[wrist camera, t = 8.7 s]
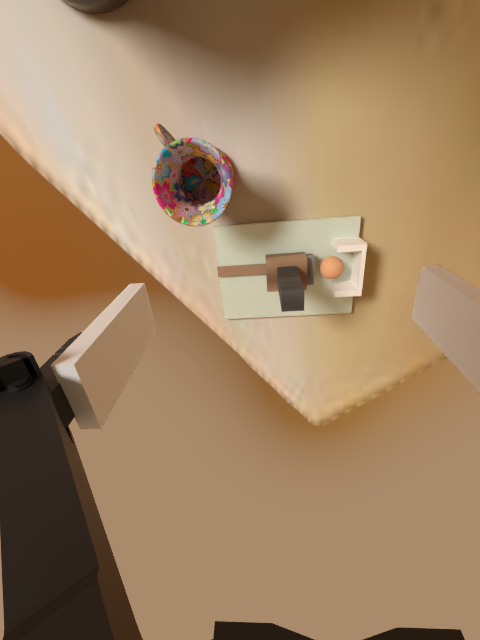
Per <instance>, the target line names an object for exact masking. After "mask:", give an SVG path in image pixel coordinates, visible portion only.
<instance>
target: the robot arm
mask: <svg viewBox="0 0 480 640" xmlns="http://www.w3.org/2000/svg"><path fill="white" fill-rule="evenodd" d="M62 1H63V2H65V3H66V4H68V5H70V6H72V7H74V8H76V9H78V10H81V11H84V12H89V13H104V12H109V11H112V10H114V9H116V8H118V7H120V6H121V5H123V4H124V3H125V2H126V1H128V0H62ZM411 319H412V320H413V321H414V322H415V323H416V324H417V326H418V327H419V328H420V329H421V330H422V331H423V332H424V333H425V334H426V335H427V336H428V337H429V338H430V340H431V341H432V342H433V343H434V344H435V345H436V346H437V347H438V348H439V349H440V350H441V351H442V352H443V354H444V355H445V356H446V357H447V358H448V359H449V360H450V361H451V362H452V363H453V364H454V365H455V366H456V367H457V369H458V370H459V371H460V372H461V373H462V374H463V375H464V376H465V377H466V378H467V379H468V380H469V382H470V383H471V384H472V385H473V386H474V387H475V388H476V389H477V390H478V391H479V392H480V289H478V288H477V287H475V286H474V285H472V284H470V283H469V282H467V281H465V280H464V279H462V278H461V277H459V276H457V275H456V274H454V273H452V272H451V271H449V270H448V269H446V268H444V267H443V266H441V265H424V266H422V268H421V272H420V277H419V282H418V287H417V292H416V296H415V301H414V306H413V311H412V316H411ZM155 333H156V326H155V322H154V319H153V314H152V310H151V307H150V302H149V298H148V294H147V290H146V286H145V283H139V284H129V285H128V286H127V287H126V288H125V289H124V290H123V291H122V292H121V294H120V295H119V296H118V297H117V298H116V299H115V300H114V301H113V302H112V303H111V304H110V305H109V306H108V307H107V308H106V309H105V310H104V311H103V312H102V313H101V314H100V315H99V316H98V317H97V318H96V319H95V320H94V321H93V322H92V323H91V324H90V325H89V326H88V327H87V328H86V329H85V330H84V331H83V332H81V333H79V334H77V335H75V336H74V337H72V338H70V339H69V340H68V341H67V342H66V343H65V344H64V345H63V346H62V347H61V348H60V349H59V350H58V351H57V352H56V353H55V355H53V356H52V357H51V358H50V359H49V360H48V361H47V362H46V363H45V364H44V365H43V366H42V367H40V368H39V366H38V364H37V362H36V361H35V358H34V356H33V355H32V354H31V353H30V352H25V351H24V352H15V353H12V354H8V355H5V356H3V357H0V536H1V555H2V556H1V559H2V582H3V604H4V605H3V606H4V637H3V640H143V639H142V637H141V635H140V632H139V629H138V626H137V623H136V621H135V618H134V615H133V612H132V609H131V606H130V603H129V600H128V597H127V594H126V592H125V588H124V585H123V582H122V579H121V576H120V574H119V571H118V568H117V565H116V562H115V559H114V556H113V553H112V550H111V547H110V544H109V541H108V538H107V535H106V533H105V530H104V527H103V524H102V521H101V518H100V515H99V512H98V509H97V506H96V503H95V500H94V497H93V494H92V491H91V488H90V485H89V483H88V480H87V477H86V474H85V471H84V468H83V465H82V462H81V459H80V456H79V453H78V450H77V448H76V445H75V442H74V438H73V436H72V433H71V431H70V429H69V427H68V425H69V424H70V422H71V421H72V420H73V418H74V417H75V419H76V421H77V423H78V425H79V427H80V429H101V428H102V426H103V425H104V423H105V421H106V419H107V418H108V416H109V414H110V412H111V411H112V409H113V407H114V405H115V403H116V402H117V400H118V398H119V396H120V395H121V393H122V391H123V389H124V388H125V386H126V384H127V382H128V380H129V379H130V377H131V375H132V374H133V372H134V370H135V368H136V366H137V365H138V363H139V361H140V359H141V358H142V356H143V354H144V352H145V351H146V349H147V347H148V345H149V343H150V342H151V340H152V338H153V336H154V335H155ZM212 640H313V639H311V638H308V637H306V636H303V635H301V634H298V633H296V632H293V631H291V630H288V629H285V628H283V627H280V626H278V625H275V624H273V623H249V622H248V623H247V622H219V621H215V627H214V639H212ZM364 640H465V639H464V637H463V635H462V632H461V630H455V629H425V628H395V629H392V630H389V631H386V632H383V633H381V634H378V635H375V636H372V637H369V638H367V639H364Z"/></svg>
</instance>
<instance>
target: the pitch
mask: <svg viewBox="0 0 480 640" xmlns="http://www.w3.org/2000/svg"><path fill="white" fill-rule="evenodd" d="M360 222H361V216H360V215H352V216H339V217H326V218H314V219H301V220H288V221H275V222H262V223H249V224H236V225H223V226H214V227H213V232H214V240H215V248H216V256H217V264H218V267H217V269H218V277H219V280H220V288H221V296H222V304H223V312H224V319H241V318H261V317H281V316H300V315H320V314H340V313H351V311H352V301H353V296H350V297H334V295H333V294H332V292H331V290H330V288H329V282H332V281H349V280H351V273H352V263H353V252H340V253H338V252H337V251H336V250H335V249H334V247H333V246H332V239H335V238H349V237H359V232H360ZM296 252H305V254H313V255H314V257H315V258H314V285H307V290H305V292H304V311H287V312H282V310H281V304H280V297H279V291H276V292H267V278H266V256H265V255H267V254H282V253H296ZM329 256H335V257H338V258H339V259H340V260H341V261H342V263H343V271H342V273H341V275H340V276H339V277H337V278H335V279H327V278H325V277H323V276H322V274H321V272H320V264H321V262H322V261H323V259H325V258H326V257H329Z"/></svg>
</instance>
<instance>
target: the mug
mask: <svg viewBox="0 0 480 640" xmlns="http://www.w3.org/2000/svg"><path fill="white" fill-rule="evenodd" d="M154 131H155V133H156V135H157V136H158V138H159V139H160V141H161V142H162V144H163V145H164V146H165V148H164V149H163V150H162V151H161V152H160V154H159V155H158V157H157V159H156V161H155V164H154V167H153V172H152V185H153V190H154V194H155V196H156V199H157V201H158V203H159V205H160V206H161V208H162V209H163V210H164V211H165V212H166V214H167V215H169V216H170V217H171V218H172V219H174V220H175V221H177V222H179V223H182V224H184V225H188V226H202V225H206V224H209V223H211V222H213V221H215V220H216V219H217V218H219V217H220V216H221V215H222V214H223V212H224V211H225V210H226V208H227V206H228V204H229V202H230V199H231V195H232V191H233V187H234V171H233V168H232V165H231V163H230V161H229V159H228V158H227V156H226V155H225V154H224V153H223V152H222V151H220V150H219V149H218V148H216V147H214V146H212V145H211V144H209V143H207V142H205V141H203V140H200V139H196V138H183V139H179V140H175V139H174V138H173V136H172V135H171V134H170V133H169V132H168V131H167V130H166V129H165V128H164V127H163V126H162V125H160V124H159V123H157V124H156V125H155V126H154Z"/></svg>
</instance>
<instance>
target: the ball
mask: <svg viewBox="0 0 480 640" xmlns="http://www.w3.org/2000/svg"><path fill="white" fill-rule="evenodd" d="M342 271H343V263H342V261H341V260H340V259H339V258H338V257H335V256H329V257H326V258H325V259H323V261H322V262H321V264H320V272H321V274H322V276H323V277H325V278H327V279H335V278H337V277H339V276H340V275H341V273H342Z"/></svg>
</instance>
